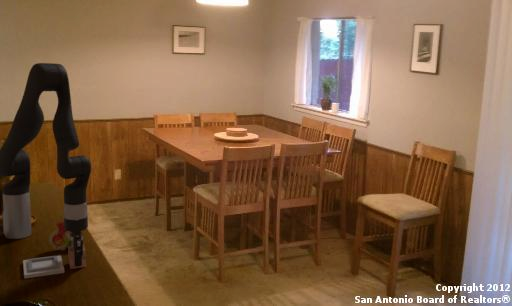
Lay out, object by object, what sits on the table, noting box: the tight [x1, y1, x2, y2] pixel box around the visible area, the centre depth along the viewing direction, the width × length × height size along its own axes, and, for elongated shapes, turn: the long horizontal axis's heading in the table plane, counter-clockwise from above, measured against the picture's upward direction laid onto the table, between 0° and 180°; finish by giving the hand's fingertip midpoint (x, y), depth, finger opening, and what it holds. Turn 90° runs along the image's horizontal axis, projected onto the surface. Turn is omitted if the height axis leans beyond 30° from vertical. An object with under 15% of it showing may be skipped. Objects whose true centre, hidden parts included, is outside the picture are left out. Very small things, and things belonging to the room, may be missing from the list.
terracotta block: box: [67, 244, 87, 270], centre depth 173 cm, size 5×5×6 cm
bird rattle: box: [48, 221, 72, 251], centre depth 184 cm, size 6×11×9 cm
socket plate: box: [22, 255, 65, 279], centre depth 170 cm, size 12×12×2 cm
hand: (77, 262), depth 173 cm, fingers closed on terracotta block, 5 cm apart
